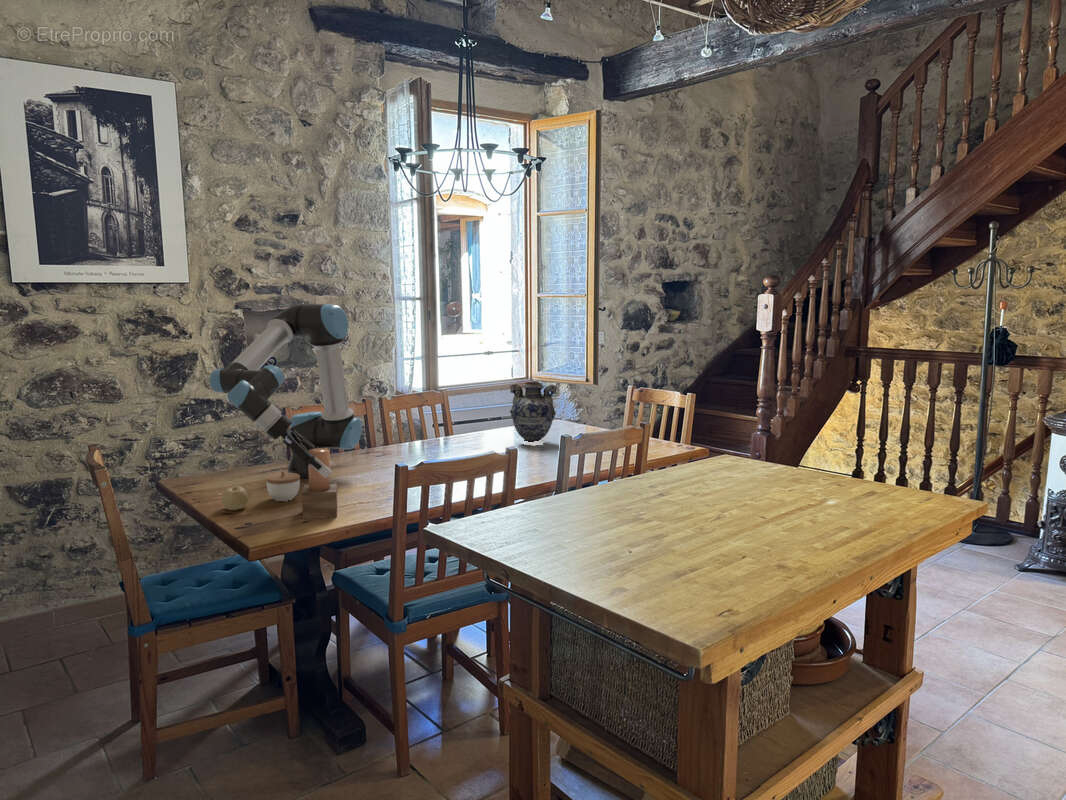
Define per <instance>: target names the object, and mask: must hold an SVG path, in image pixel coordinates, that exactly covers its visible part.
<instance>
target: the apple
mask: <svg viewBox="0 0 1066 800" xmlns="http://www.w3.org/2000/svg"><path fill="white" fill-rule="evenodd" d="M221 499H222V500H221V502H222V505H223V507H224V508H225V509H226V510H229V511H239V509H240V510H242V509H244V508H246V506H247V504H248V503H249V499H250V498H249V493H248V491H247V490H246V489H245V488H244V487H242V486H240V485H233V486H230V487H228V488H226V489H225V490H224V491H223V493H222V497H221Z"/></svg>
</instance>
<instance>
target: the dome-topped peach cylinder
mask: <svg viewBox="0 0 1066 800" xmlns="http://www.w3.org/2000/svg"><path fill="white" fill-rule="evenodd" d="M308 451H309V452H310V453H311V454H312V455H313V456H314V458H315V457H316V458H317V459H318V460H319V461H321V462H322V463H323V464H324V465H325V466H326V467H327V468H329V469H330V470H331V466H330V461H331V456H330V455H331V451H330V448H316V449H310V450H308ZM308 468H309V478H308V485H309V490H312V491H325V490H328V489H330V484H331V473H330V474H329V475H328V476H327V477H326V478H324V477H323V476H322V475H321V474H320V473H319V472H318V471H316V470H315V469H314V468H313V467H312V466H311V465H308Z"/></svg>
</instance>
